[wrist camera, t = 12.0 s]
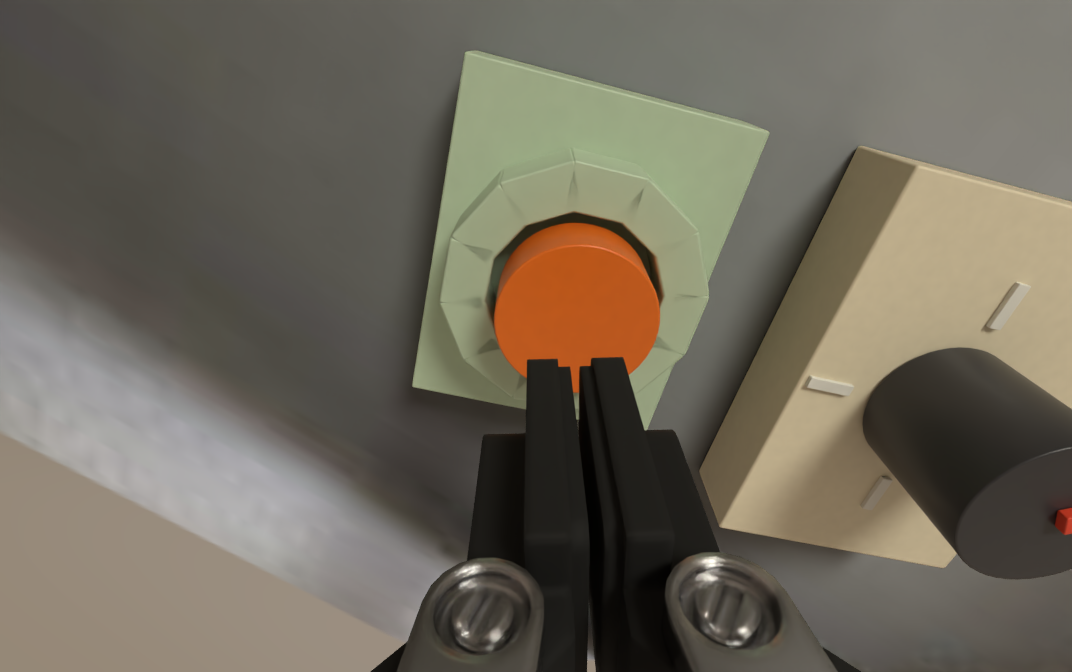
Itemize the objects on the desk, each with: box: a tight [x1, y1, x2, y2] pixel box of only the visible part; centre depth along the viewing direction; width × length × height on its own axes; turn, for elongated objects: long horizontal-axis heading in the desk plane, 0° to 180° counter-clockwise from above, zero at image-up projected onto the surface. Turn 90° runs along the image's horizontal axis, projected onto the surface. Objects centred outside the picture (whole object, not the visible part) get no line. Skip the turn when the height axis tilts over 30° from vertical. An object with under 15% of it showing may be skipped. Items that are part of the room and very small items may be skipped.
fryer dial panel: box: [699, 146, 1072, 568], centre depth 19 cm, size 13×9×3 cm
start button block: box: [412, 50, 769, 430], centre depth 16 cm, size 10×8×4 cm
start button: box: [494, 223, 660, 393], centre depth 14 cm, size 4×4×2 cm
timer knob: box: [862, 347, 1072, 579], centre depth 15 cm, size 4×4×5 cm
